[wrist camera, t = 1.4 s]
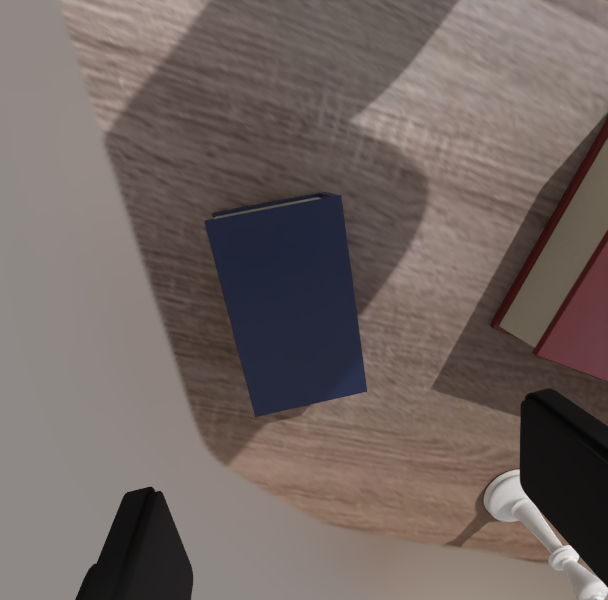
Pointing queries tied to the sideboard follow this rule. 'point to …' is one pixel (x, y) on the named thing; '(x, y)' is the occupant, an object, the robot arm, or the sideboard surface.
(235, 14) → the sideboard surface
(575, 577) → the chess piece
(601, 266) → the hardback
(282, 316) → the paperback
